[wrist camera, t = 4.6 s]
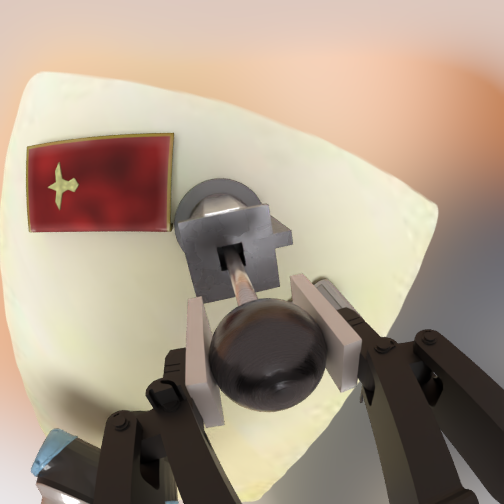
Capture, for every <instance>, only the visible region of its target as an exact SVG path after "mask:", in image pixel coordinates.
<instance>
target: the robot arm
mask: <svg viewBox="0 0 504 504" xmlns="http://www.w3.org/2000/svg"><path fill="white" fill-rule="evenodd" d="M290 282H291V291H292V300H293V304H295V305H297V306H299V307H301V308H302V309H303V310H305V311H306V312H308V313H309V314H310V315H311V316H312V317H313V319H314V320H315V321H316V322H317V324H318V325H319V327H320V329H321V331H322V333H323V336H324V339H325V342H326V348H327V360H326V367H325V368H326V369H327V371H328V372H329V374H330V376H331V377H332V379H333V381H334V382H335V384H336V385H337V387H338V389H339V390H340V392H344V391H347V390H349V389H352V388H354V387H356V386H357V380H358V379H359V380H360V381H361V383H362V390H361V396H360V403H362V401H363V398H364V401H365V405H366V408H367V412H368V415H369V419H370V423H371V426H372V429H373V434H374V437H375V441H376V445H377V449H378V453H379V457H380V462H381V466H382V470H383V474H384V479H385V484H386V488H387V493H388V498H389V503H390V504H479V502H478V499H477V497H476V495H475V493H474V492H473V491H472V490H469V489H465V488H464V487H463V486H462V484H461V482H460V479H459V476H458V473H457V470H456V468H455V465H454V462H453V460H452V457H451V454H450V452H449V450H448V447H447V444H446V442H445V440H444V437H443V435H442V432H443V433H444V434H445V436H446V437H447V438H448V439H449V441H450V442H451V443H452V445H453V446H454V447H455V448H456V449H457V451H458V452H459V454H460V455H461V456H462V457H463V458H464V460H465V461H466V462H467V464H468V465H469V466H470V468H471V469H472V470H473V472H474V473H475V475H476V476H477V477H478V479H479V480H480V481H481V483H482V484H483V485H484V487H485V488H486V489H487V491H488V492H489V493H490V494H491V495H492V497H493V498H494V499H495V500H497V501H498V502H499V503H500V504H504V390H503V389H502V388H501V387H500V386H499V385H498V384H497V383H496V382H495V381H494V380H493V379H492V378H491V377H490V376H488V375H487V374H486V373H485V372H484V371H483V370H482V369H480V367H478V366H477V365H476V364H475V363H474V362H473V361H472V360H471V359H469V358H468V357H467V356H466V355H465V354H464V353H463V352H461V351H460V350H459V349H458V348H457V347H456V346H454V345H453V344H452V343H451V342H450V341H449V340H447V339H446V338H445V337H444V336H443V335H441V334H440V333H439V332H437V331H434V330H431V329H427V330H422V331H420V332H418V333H417V334H416V337H415V340H414V341H412V342H406V343H399V344H398V343H397V342H396V341H394V340H393V339H391V338H387V337H380V336H379V335H378V334H377V333H376V332H375V331H374V330H373V329H372V328H371V327H370V326H369V325H368V324H367V323H366V322H365V320H364V319H363V318H362V317H360V315H359V314H358V313H357V312H356V311H354V310H352V309H350V308H347V307H345V308H341V309H338V310H336V309H335V308H334V307H333V306H332V305H331V304H330V303H329V302H328V301H327V299H326V298H325V297H324V296H323V295H322V294H321V293H320V292H319V291H318V290H317V288H316V287H315V286H314V285H313V284H312V283H311V282H310V281H309V280H308V279H307V277H306V276H305V275H304V274H303V273H302V274H298V275H293V276H290ZM212 336H213V335H212V332H211V328H210V325H209V321H208V318H207V314H206V311H205V307H204V304H203V300H202V296H200V297H195V298H191V299H188V309H187V331H186V348H180V349H175V350H170V351H169V353H168V354H167V356H166V358H165V365H164V366H165V367H164V374H163V378H160V379H158V380H155V381H153V382H152V383H151V384H150V385H149V386H148V388H147V389H146V397H147V399H148V400H149V402H150V404H151V405H152V407H153V409H152V410H150V411H148V412H130V411H126V410H122V411H117V412H116V413H114V414H112V415H111V416H110V417H109V418H108V420H107V422H106V426H105V431H104V436H103V441H102V446H101V449H100V448H98V447H96V446H93V445H91V444H89V443H87V442H85V441H83V440H82V439H80V438H78V437H77V436H73V435H71V434H69V433H67V432H65V431H63V430H61V429H53V430H51V431H50V433H49V434H48V436H47V437H46V439H45V441H44V443H43V445H42V446H41V448H40V450H39V452H38V454H37V457H36V459H35V461H34V463H33V465H32V468H31V472H32V473H33V474H34V476H36V477H38V478H37V482H36V486H37V487H38V490H39V491H40V493H41V495H42V502H41V504H179V502H178V495H177V487H178V490H179V493H180V495H181V498H182V500H183V503H184V504H242V503H241V501H240V499H239V498H238V496H237V494H236V492H235V490H234V489H233V487H232V485H231V483H230V481H229V479H228V477H227V476H226V474H225V472H224V470H223V468H222V466H221V464H220V462H219V460H218V458H217V456H216V454H215V452H214V450H213V447H212V445H211V443H210V441H209V439H208V437H207V435H206V433H205V431H204V424H205V426H206V428H208V427H215V426H221V425H225V424H224V417H223V411H222V404H221V397H220V390H219V386H218V385H217V383H216V381H215V379H214V377H213V374H212V371H211V368H210V362H209V349H210V344H211V340H212ZM433 372H434V373H435V374H436V375H437V376H436V375H435V374H434V373H433ZM203 422H204V423H203ZM440 429H441V430H440ZM441 431H442V432H441Z"/></svg>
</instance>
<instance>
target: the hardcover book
mask: <svg viewBox="0 0 504 504" xmlns="http://www.w3.org/2000/svg"><path fill="white" fill-rule="evenodd" d="M173 140H174V133H146V134H124V135H109V136H98V137H88V138H79V139H71V140H63V141H56V142H50V143H44V144H38V145H33V146H28V147H27V158H26V197H27V215H28V226H29V232H89V231H146V232H171V231H172V227H173V223H170V211H171V175H172V156H173Z"/></svg>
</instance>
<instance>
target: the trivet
mask: <svg viewBox="0 0 504 504" xmlns="http://www.w3.org/2000/svg"><path fill="white" fill-rule="evenodd" d="M214 193H228V194H231V195H234V196H236V197H238V198H239V199H241V200H242V201H243V202H244V203H245V204H246V205H247V206H248V207H251V206H256V205H261V202H260V200H259V198H258V197H257V196H256V194H255V193H254V192H253V191H252V190H251V189H249V188H248V187H247V186H245V185H243V184H241V183H239V182H237V181H234V180H230V179H211V180H207V181H204V182H202V183H200V184H198V185H196V186H195V187H193V188H192V189H191V190H190V191H189V192H188V193H187V194H186V195H185V196H184V198H183V199H182V200H181V202H180V204H179V206H178V209H177V211H176V215H175V222H174V225H175V234H176V238H177V241H178V243H179V245H180V247H181V248H182V250H183V251H184V247H183V243H182V239H181V235H180V230H179V226H178V222H179V221H183V220H187V219H189V216H190V213H191V211H192V209H193V208H194V206H195V205H196V204H197V203H198V202H199V201H200V200H201V199H203V198H204V197H206V196H208V195H211V194H214ZM184 252H185V251H184Z"/></svg>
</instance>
